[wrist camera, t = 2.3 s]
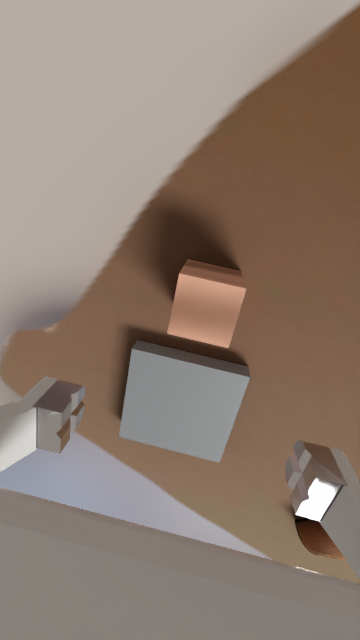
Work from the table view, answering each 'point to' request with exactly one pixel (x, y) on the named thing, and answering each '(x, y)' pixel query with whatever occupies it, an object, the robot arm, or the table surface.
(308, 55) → the table surface
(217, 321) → the terracotta block
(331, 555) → the sunglasses case
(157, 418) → the slate base
